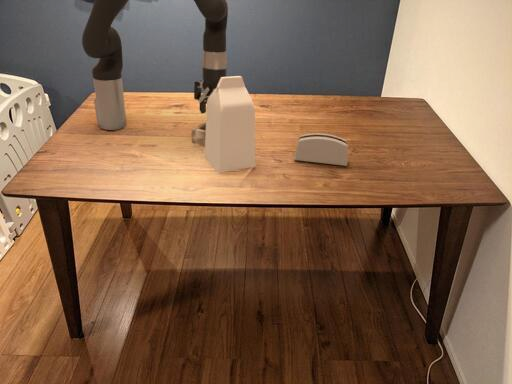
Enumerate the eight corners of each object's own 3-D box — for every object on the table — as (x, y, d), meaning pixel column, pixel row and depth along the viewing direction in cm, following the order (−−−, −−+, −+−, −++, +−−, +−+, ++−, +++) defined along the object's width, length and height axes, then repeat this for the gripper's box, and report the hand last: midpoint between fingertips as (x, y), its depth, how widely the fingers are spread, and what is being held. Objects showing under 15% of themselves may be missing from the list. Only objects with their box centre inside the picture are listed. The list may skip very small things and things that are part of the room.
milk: (218, 172, 118) (219, 83, 105) (204, 157, 126) (203, 73, 114) (255, 166, 123) (260, 80, 110) (239, 152, 131) (241, 71, 119)
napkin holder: (346, 162, 129) (351, 134, 123) (346, 170, 125) (352, 141, 120) (294, 156, 131) (297, 128, 125) (293, 163, 127) (296, 135, 121)
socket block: (191, 143, 136) (191, 129, 134) (210, 133, 145) (210, 119, 143) (218, 150, 132) (218, 135, 130) (235, 139, 141) (236, 125, 139)
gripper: (188, 64, 126) (189, 114, 134) (228, 71, 121) (227, 122, 129) (202, 60, 132) (202, 108, 140) (240, 66, 127) (238, 116, 135)
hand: (214, 115), depth 134 cm, fingers open, 8 cm apart
